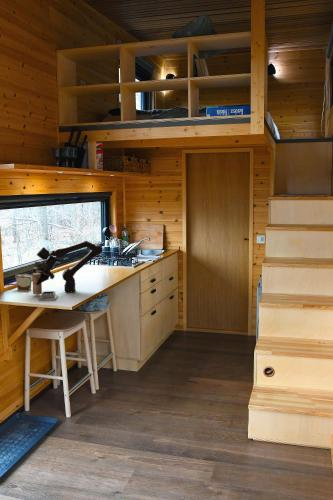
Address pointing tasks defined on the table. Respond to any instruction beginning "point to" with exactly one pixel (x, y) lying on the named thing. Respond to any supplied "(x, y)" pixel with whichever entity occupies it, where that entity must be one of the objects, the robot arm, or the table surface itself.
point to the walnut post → (36, 288)
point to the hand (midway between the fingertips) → (35, 283)
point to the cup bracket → (48, 296)
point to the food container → (24, 281)
